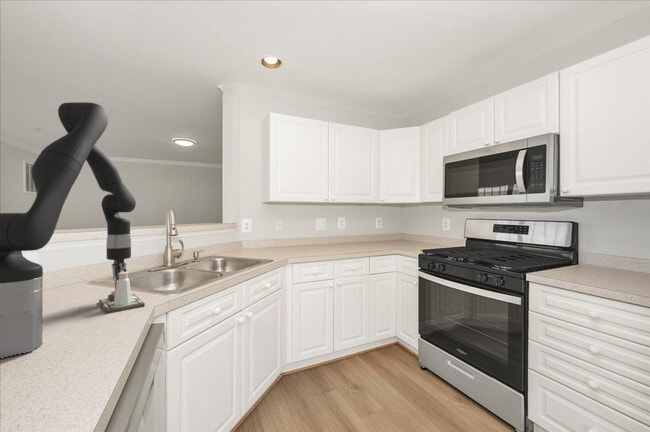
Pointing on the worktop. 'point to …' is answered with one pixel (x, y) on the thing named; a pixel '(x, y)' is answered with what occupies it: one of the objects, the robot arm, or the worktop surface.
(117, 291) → the pepper shaker
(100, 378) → the worktop surface
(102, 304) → the metal control panel
